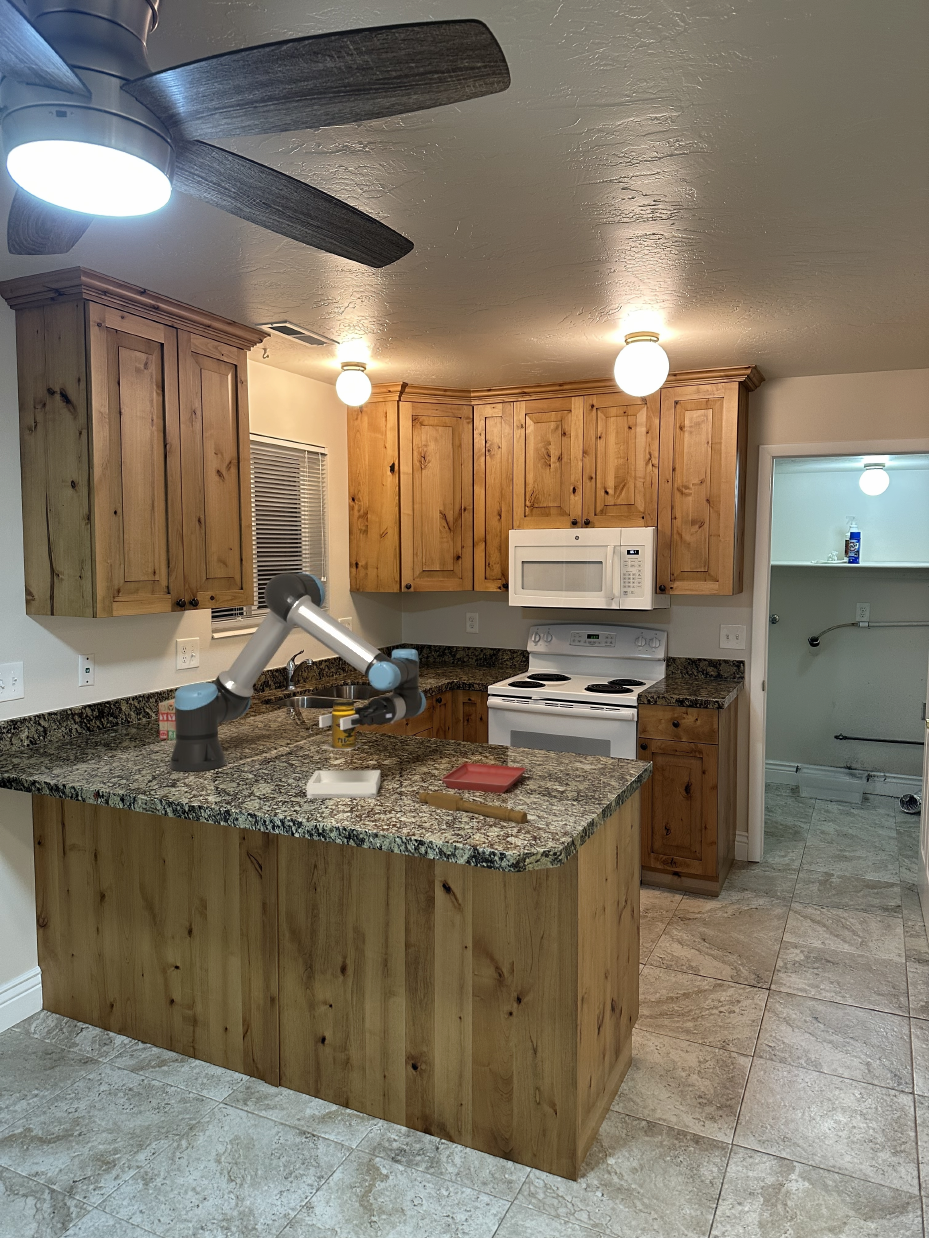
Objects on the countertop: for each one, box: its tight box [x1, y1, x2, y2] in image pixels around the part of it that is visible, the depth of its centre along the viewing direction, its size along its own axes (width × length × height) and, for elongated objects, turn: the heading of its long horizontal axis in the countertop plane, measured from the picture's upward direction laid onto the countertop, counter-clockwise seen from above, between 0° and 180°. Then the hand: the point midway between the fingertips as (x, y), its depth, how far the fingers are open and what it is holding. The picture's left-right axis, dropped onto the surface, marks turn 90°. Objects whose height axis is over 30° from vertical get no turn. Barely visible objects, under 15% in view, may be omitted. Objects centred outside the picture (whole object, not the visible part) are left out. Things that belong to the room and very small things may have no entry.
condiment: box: [320, 698, 363, 751], centre depth 212 cm, size 7×8×12 cm
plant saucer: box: [440, 762, 527, 794], centre depth 218 cm, size 18×18×3 cm
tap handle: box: [418, 791, 528, 825], centre depth 193 cm, size 3×3×30 cm
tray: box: [306, 769, 382, 799], centre depth 213 cm, size 17×14×4 cm
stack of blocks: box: [158, 698, 176, 740], centre depth 291 cm, size 21×6×12 cm, turn 169°
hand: (331, 723), depth 207 cm, fingers closed on condiment, 6 cm apart
